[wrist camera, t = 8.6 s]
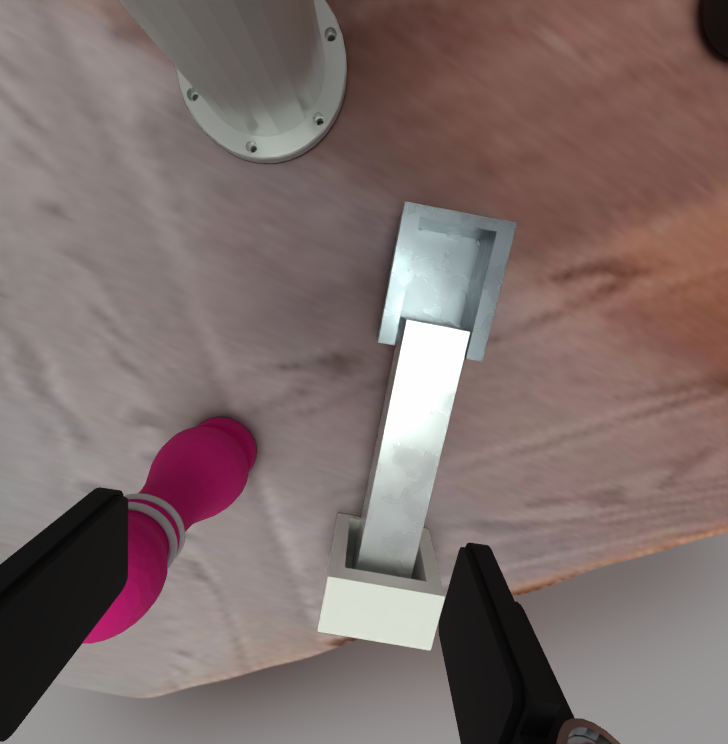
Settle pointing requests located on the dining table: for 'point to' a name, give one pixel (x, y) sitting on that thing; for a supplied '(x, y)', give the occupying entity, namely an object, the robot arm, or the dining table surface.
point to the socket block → (380, 595)
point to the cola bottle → (716, 24)
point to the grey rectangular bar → (409, 445)
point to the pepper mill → (176, 510)
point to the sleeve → (446, 272)
